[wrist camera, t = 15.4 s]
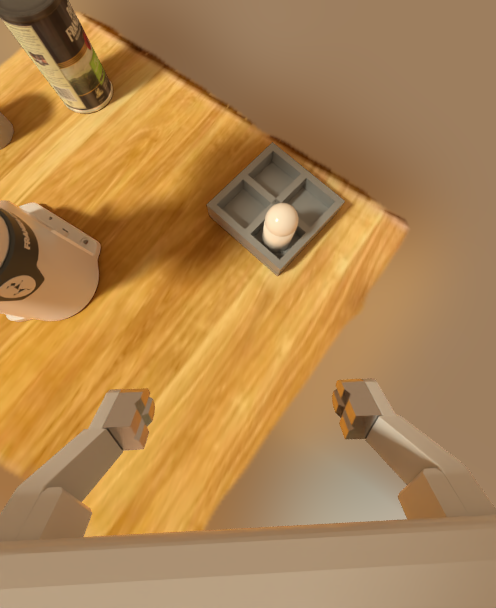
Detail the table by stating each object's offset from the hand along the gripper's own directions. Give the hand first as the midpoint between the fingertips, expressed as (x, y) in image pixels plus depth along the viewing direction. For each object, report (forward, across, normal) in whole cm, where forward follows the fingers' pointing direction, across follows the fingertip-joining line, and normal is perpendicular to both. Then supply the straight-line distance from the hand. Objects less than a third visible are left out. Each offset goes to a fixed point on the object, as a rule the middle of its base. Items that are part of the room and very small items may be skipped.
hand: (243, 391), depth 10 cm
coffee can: (+58, +30, -17) cm, 68 cm away
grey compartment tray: (+39, -6, +3) cm, 39 cm away
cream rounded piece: (+34, -6, +6) cm, 35 cm away
